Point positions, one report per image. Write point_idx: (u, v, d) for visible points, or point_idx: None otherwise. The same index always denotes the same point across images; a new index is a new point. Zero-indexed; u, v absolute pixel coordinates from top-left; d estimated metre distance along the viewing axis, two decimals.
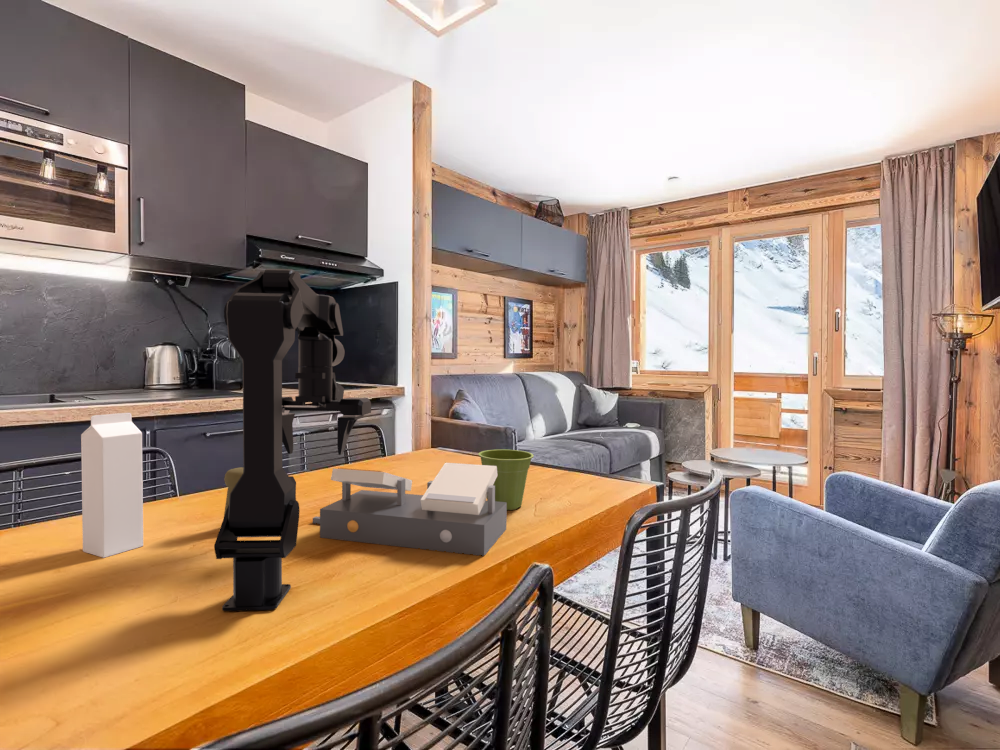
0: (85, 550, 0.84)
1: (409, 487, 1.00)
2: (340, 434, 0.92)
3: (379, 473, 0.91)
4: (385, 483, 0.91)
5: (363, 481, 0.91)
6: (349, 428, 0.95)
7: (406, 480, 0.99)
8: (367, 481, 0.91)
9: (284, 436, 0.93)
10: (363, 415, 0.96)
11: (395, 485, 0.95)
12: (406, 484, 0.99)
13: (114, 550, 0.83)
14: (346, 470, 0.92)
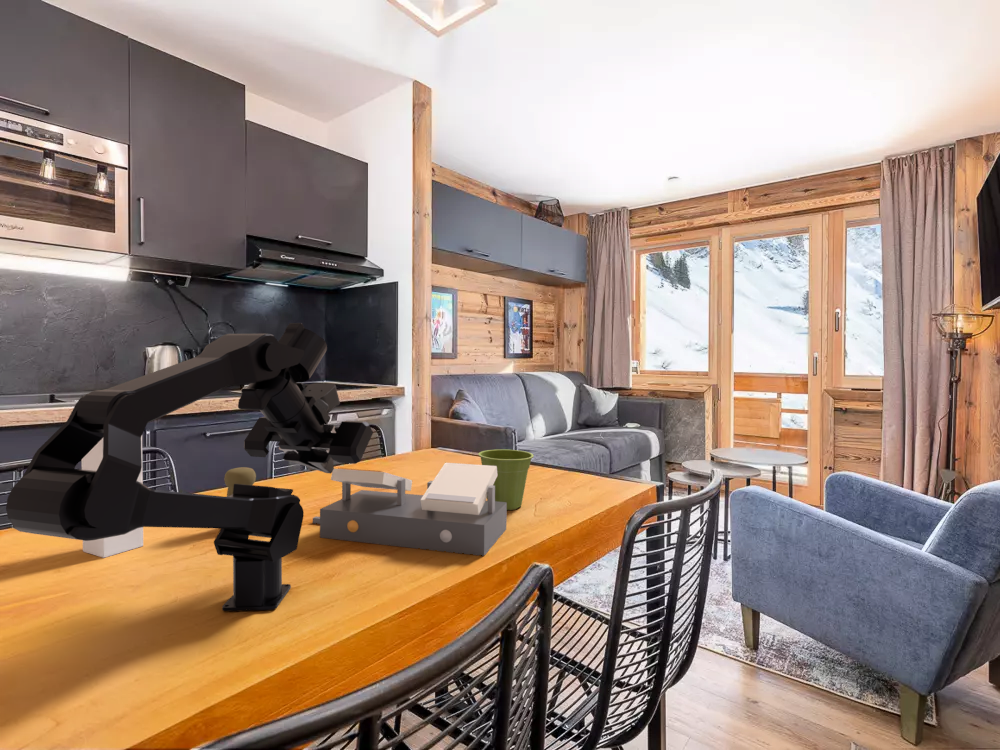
0: (85, 550, 0.84)
1: (409, 487, 1.00)
2: (320, 467, 0.80)
3: (379, 473, 0.91)
4: (385, 483, 0.91)
5: (363, 481, 0.91)
6: None
7: (406, 480, 0.99)
8: (367, 481, 0.91)
9: (314, 467, 0.81)
10: None
11: (395, 485, 0.95)
12: (406, 484, 0.99)
13: (114, 550, 0.83)
14: (346, 470, 0.92)
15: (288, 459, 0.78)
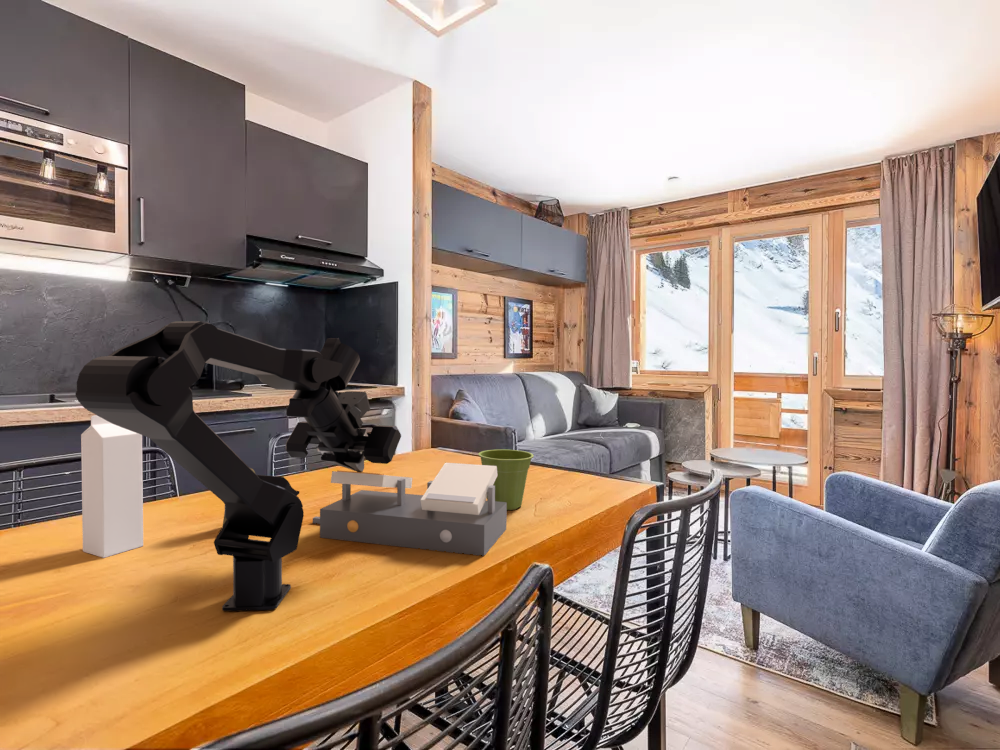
0: (85, 550, 0.84)
1: (409, 485, 1.01)
2: (353, 466, 0.89)
3: (378, 476, 0.91)
4: (385, 485, 0.91)
5: (363, 484, 0.91)
6: None
7: (406, 478, 0.99)
8: (367, 484, 0.91)
9: (348, 467, 0.90)
10: None
11: (395, 485, 0.95)
12: (406, 482, 0.99)
13: (114, 550, 0.83)
14: (345, 473, 0.92)
15: (325, 459, 0.87)
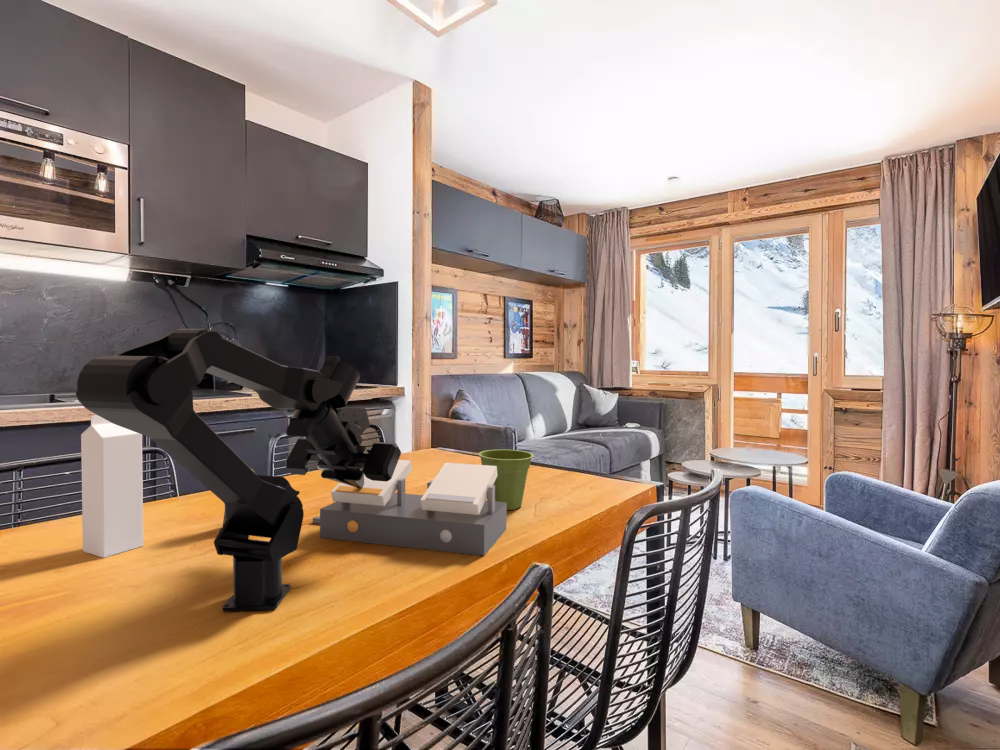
0: (85, 550, 0.84)
1: (410, 469, 1.01)
2: (353, 483, 0.89)
3: (378, 497, 0.90)
4: (386, 501, 0.92)
5: (365, 503, 0.92)
6: None
7: (405, 469, 0.99)
8: (369, 503, 0.91)
9: (348, 483, 0.90)
10: None
11: (396, 488, 0.95)
12: (406, 471, 0.99)
13: (114, 550, 0.83)
14: (344, 493, 0.92)
15: (325, 476, 0.87)
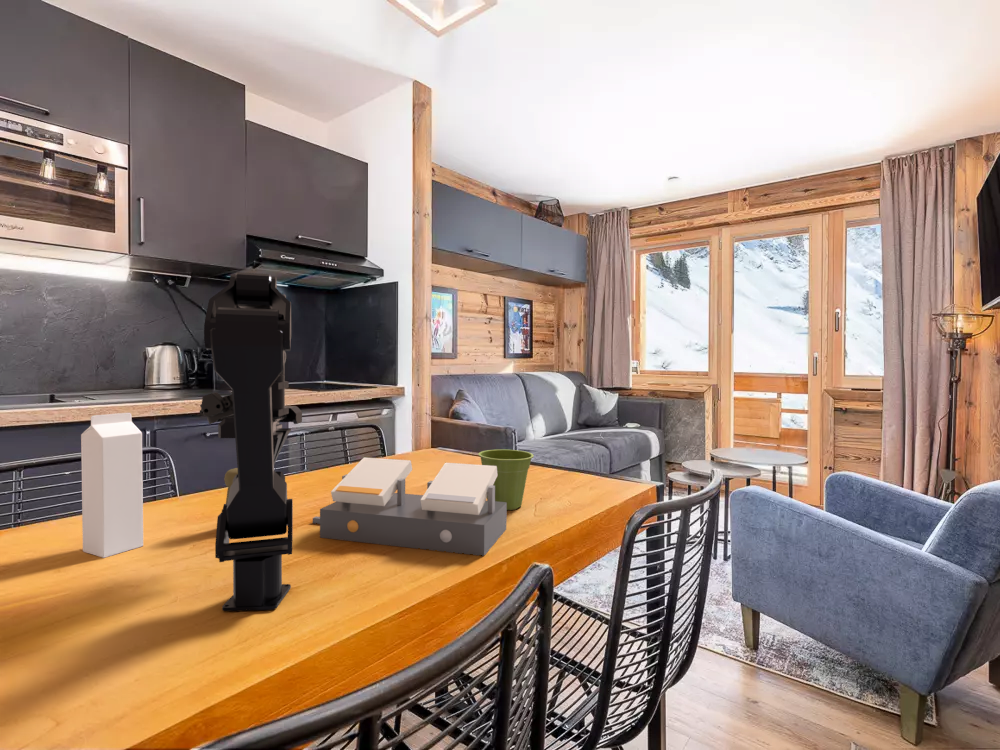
0: (85, 550, 0.84)
1: (410, 469, 1.01)
2: (279, 450, 0.83)
3: (378, 497, 0.90)
4: (386, 501, 0.92)
5: (365, 503, 0.92)
6: None
7: (405, 469, 0.99)
8: (369, 503, 0.91)
9: (275, 455, 0.81)
10: None
11: (396, 488, 0.95)
12: (406, 471, 0.99)
13: (114, 550, 0.83)
14: (344, 493, 0.92)
15: (278, 433, 0.79)
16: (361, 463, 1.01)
